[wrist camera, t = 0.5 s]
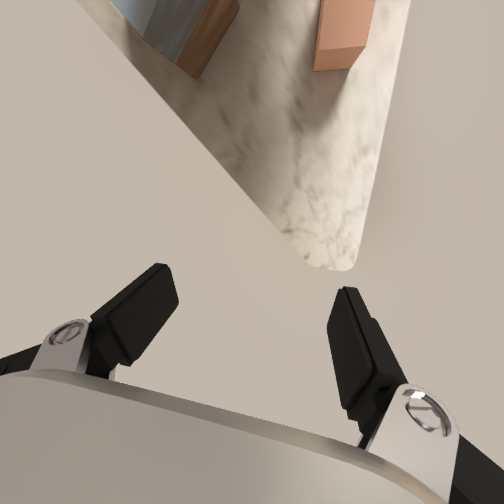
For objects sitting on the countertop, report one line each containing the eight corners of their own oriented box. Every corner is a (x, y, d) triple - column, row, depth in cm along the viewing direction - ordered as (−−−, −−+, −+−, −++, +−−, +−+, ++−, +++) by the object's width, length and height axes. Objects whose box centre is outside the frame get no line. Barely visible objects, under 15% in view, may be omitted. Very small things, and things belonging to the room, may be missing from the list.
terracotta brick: (323, -19, 22) (333, -73, 16) (368, -26, 21) (394, -86, 16) (312, 71, 25) (318, 50, 20) (350, 68, 25) (365, 45, 19)
